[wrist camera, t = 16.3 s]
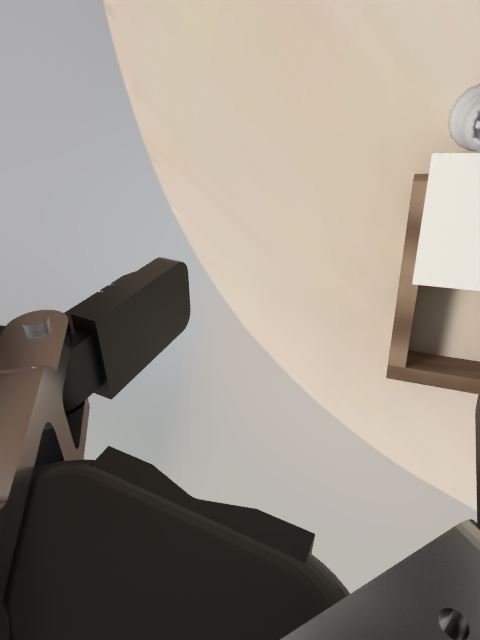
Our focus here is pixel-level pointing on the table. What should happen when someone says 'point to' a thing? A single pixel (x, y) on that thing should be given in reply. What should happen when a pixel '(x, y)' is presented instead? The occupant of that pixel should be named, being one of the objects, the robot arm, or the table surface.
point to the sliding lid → (450, 223)
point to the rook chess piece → (466, 120)
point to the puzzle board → (401, 360)
